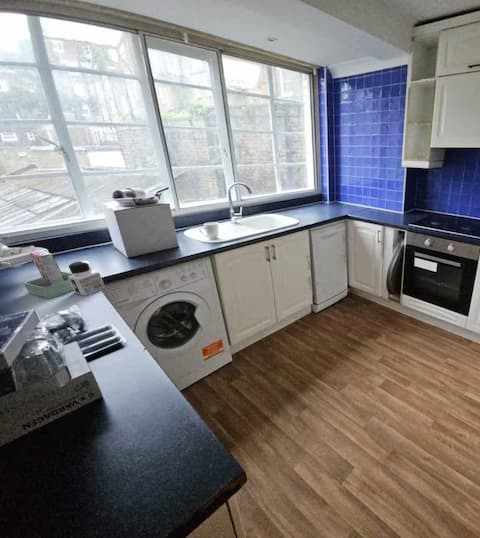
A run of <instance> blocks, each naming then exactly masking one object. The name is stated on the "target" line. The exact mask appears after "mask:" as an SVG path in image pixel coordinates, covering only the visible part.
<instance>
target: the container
mask: <svg viewBox="0 0 480 538" xmlns="http://www.w3.org/2000/svg"><path fill="white" fill-rule="evenodd" d="M68 269H69V271H70V273H72V275H71V276H68V279H69V281H70V283H71V285H72V287H73V290H72V291H73V292H74V293H75V294H79V295H83V296H88V295H90V294H93V293H95V292H98V291H101V290H103V289H105V288H106V285H105V283H104V280H103V278H102V276H101V274H100V271H96V270H93V268H92V265H91V263H90V261H88V260H79V261H75V262H71V263H70V264H69V265H68Z"/></svg>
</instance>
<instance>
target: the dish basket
mask: <svg viewBox="0 0 480 538" xmlns="http://www.w3.org/2000/svg"><path fill="white" fill-rule="evenodd" d="M60 271H61V273H62V275H63V277H64V279H65V281H64V282H61V283H58V284H55V285H52V286H49V287H47V286H46V284H45V282H44V280H43V278H42V276H41V277H38V278H36V279H32V280H29V281H25V282H23V285H24V287H25V288H26V290H27V292H28V294H31V295H35V296H38V297H40V298H41V297H42V298H46V299H48V300H50V299H52V298H56V297H58V296H59V297H60V296H61V295H64V294H66V293H69V292H73V291H74V290H73V287H72V285H71V283H70V281H69V279H68V276H71V275H72V273H71V272H67V271H63V270H60Z"/></svg>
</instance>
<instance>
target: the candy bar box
mask: <svg viewBox="0 0 480 538" xmlns="http://www.w3.org/2000/svg"><path fill="white" fill-rule="evenodd" d="M29 254H30V255H31V257H32V259H33V261H32V262H33V263H34V265H35V267H36V269H37V271H38V273H39V274H40V276H41V277H42V278H43V280H44V282H45V284H46V286H47V287H49V286H52V285H55V284H58V283H61V282H64V281H65V279H64V277H63V275H62V273H61V271H62V270H61V268H60V267H59V265H58V263H57V261H56V259H55V256H54V254H53V253H51V252H49V251H48V252H47V251H45V250H41V251H37V252H32V253H29Z"/></svg>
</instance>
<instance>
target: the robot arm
mask: <svg viewBox="0 0 480 538" xmlns="http://www.w3.org/2000/svg"><path fill="white" fill-rule="evenodd" d="M41 250H45V251H47V252H49V250H48V249H47V248H44V247H36V246H34V245H28V246H27V245H26V246H20V247H9V246H8V243H7V242H6V240H5V239H4V238H2V237H0V270H4V269H6V268H11V269H12V268H19V267H21V266H23V265H25V264H27V263H30V262H34V261H33V259H32V257H31V255H30V254H29V253H32V252H37V251H41Z"/></svg>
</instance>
